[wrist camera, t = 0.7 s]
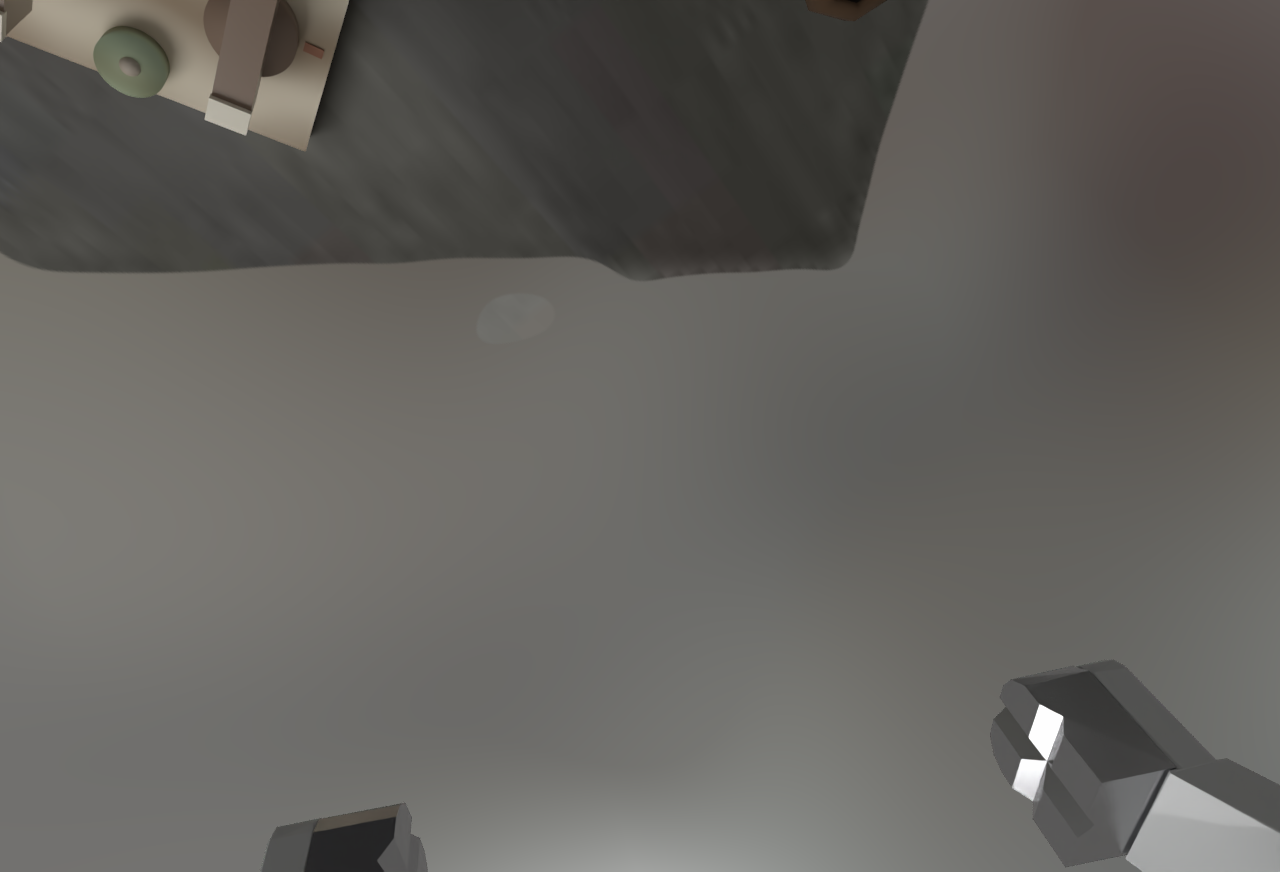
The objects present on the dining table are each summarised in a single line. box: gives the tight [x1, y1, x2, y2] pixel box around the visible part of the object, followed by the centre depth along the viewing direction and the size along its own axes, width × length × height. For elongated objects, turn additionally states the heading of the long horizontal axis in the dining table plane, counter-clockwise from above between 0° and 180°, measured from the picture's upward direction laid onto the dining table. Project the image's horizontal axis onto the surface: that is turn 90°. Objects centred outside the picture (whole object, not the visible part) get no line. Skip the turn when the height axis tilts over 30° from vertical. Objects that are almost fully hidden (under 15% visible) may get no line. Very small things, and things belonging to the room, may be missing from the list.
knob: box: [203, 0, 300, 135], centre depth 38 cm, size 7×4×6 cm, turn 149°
